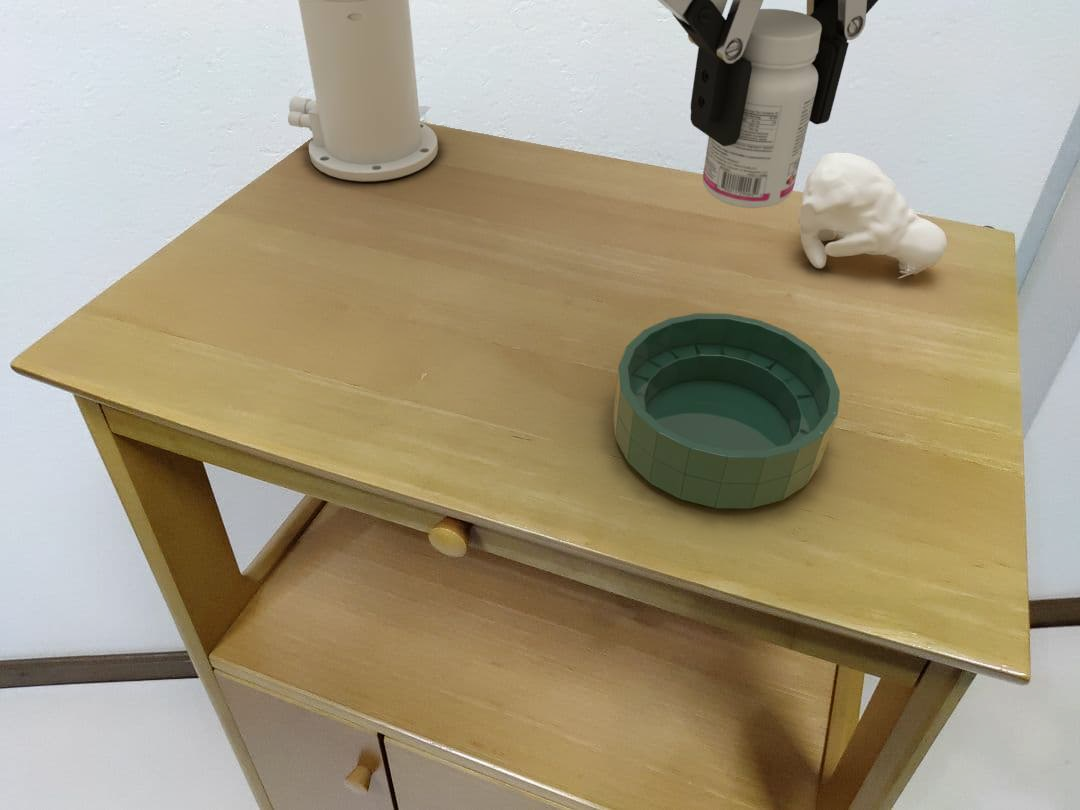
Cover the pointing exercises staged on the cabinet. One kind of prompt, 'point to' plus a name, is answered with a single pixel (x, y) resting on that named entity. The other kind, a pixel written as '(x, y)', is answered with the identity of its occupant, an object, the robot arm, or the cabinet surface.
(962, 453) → the cabinet surface
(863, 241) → the white irregular piece
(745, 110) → the pill bottle
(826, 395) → the bowl
